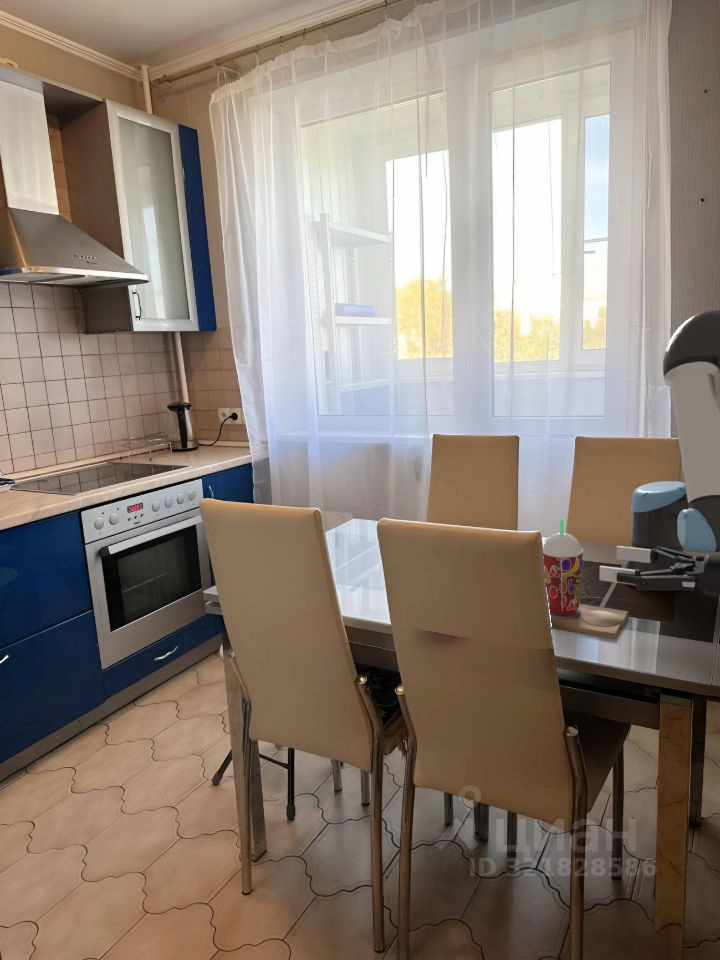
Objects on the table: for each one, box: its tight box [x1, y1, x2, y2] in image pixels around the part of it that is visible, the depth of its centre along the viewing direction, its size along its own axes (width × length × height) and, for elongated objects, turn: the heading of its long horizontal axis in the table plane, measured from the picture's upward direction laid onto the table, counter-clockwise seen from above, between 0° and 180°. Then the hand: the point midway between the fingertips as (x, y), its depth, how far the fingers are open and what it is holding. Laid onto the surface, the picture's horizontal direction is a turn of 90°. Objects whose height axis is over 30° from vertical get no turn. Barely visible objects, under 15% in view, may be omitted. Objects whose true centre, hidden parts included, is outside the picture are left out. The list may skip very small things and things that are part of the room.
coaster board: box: [550, 603, 629, 640], centre depth 140 cm, size 12×16×1 cm
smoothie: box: [542, 519, 584, 616], centre depth 140 cm, size 8×8×20 cm
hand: (608, 562), depth 134 cm, fingers open, 13 cm apart
